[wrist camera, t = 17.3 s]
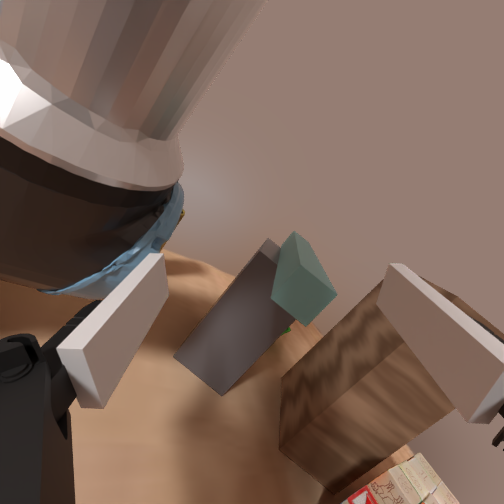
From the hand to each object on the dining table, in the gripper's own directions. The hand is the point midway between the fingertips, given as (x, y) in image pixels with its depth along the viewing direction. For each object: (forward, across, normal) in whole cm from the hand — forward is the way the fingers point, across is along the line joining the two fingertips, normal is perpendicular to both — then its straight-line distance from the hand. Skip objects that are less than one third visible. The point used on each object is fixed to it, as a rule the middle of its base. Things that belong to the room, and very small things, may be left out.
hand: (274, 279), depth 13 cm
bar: (+16, +4, -8) cm, 18 cm away
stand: (+12, +9, -36) cm, 39 cm away
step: (+17, -7, -25) cm, 31 cm away
